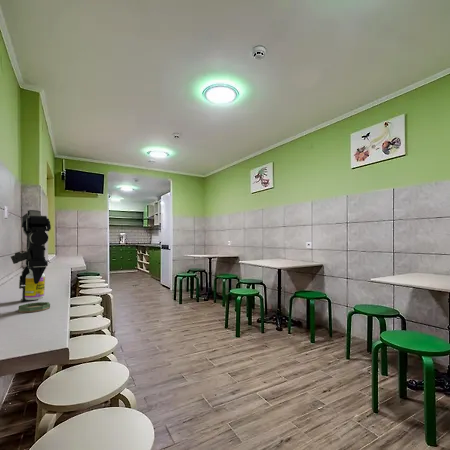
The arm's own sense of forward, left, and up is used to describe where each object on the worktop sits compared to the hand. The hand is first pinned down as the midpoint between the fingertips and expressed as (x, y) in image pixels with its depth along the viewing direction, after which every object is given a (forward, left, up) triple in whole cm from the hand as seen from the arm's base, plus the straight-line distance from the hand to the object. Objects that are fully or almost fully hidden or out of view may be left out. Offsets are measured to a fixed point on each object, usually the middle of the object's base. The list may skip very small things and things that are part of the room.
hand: (35, 282), depth 113 cm
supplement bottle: (0, 0, -7) cm, 7 cm away
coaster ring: (0, 0, -11) cm, 11 cm away
